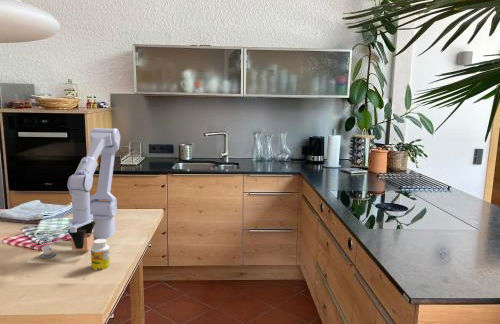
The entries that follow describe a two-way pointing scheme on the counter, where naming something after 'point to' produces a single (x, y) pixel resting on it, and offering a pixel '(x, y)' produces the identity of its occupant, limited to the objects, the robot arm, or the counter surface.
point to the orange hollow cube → (85, 242)
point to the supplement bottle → (100, 255)
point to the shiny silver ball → (47, 252)
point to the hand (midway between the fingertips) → (83, 245)
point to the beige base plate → (61, 254)
